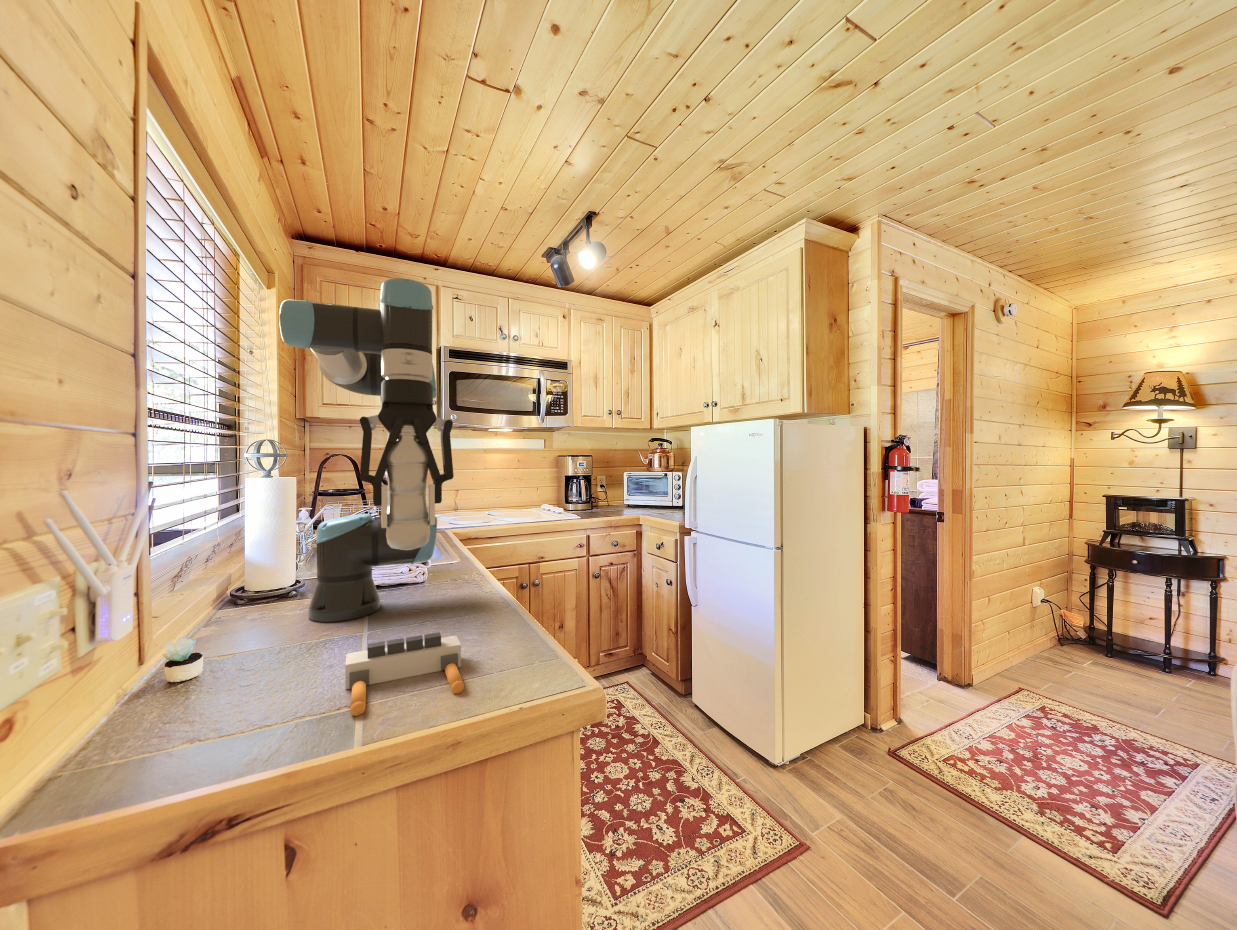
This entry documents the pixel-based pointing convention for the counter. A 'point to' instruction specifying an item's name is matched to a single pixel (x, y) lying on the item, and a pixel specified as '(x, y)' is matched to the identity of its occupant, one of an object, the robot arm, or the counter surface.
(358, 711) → the cord
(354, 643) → the counter surface
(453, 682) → the cord
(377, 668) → the breaker strip
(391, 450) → the plastic bottle
